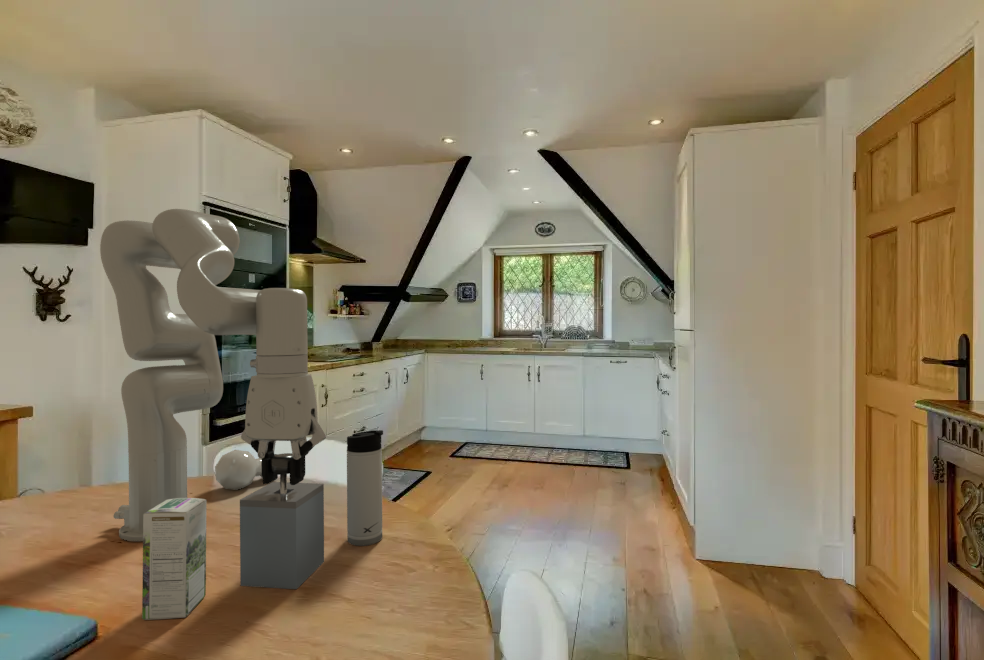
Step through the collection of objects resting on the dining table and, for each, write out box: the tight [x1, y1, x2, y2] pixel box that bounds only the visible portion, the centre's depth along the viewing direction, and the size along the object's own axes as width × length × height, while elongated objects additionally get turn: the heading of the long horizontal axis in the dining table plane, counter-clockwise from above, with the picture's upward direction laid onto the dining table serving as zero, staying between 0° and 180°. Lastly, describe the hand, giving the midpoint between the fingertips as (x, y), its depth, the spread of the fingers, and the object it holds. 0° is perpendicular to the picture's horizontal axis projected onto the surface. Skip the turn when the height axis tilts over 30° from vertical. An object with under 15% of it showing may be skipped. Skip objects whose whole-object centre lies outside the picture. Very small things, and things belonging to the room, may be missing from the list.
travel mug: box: [346, 429, 384, 547], centre depth 94 cm, size 6×7×20 cm
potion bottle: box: [214, 449, 263, 491], centre depth 127 cm, size 9×10×15 cm
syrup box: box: [141, 497, 207, 621], centre depth 71 cm, size 6×6×14 cm
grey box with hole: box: [239, 481, 325, 590], centre depth 81 cm, size 9×9×13 cm
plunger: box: [270, 452, 293, 494], centre depth 81 cm, size 6×6×15 cm
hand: (283, 480), depth 81 cm, fingers closed on plunger, 3 cm apart
